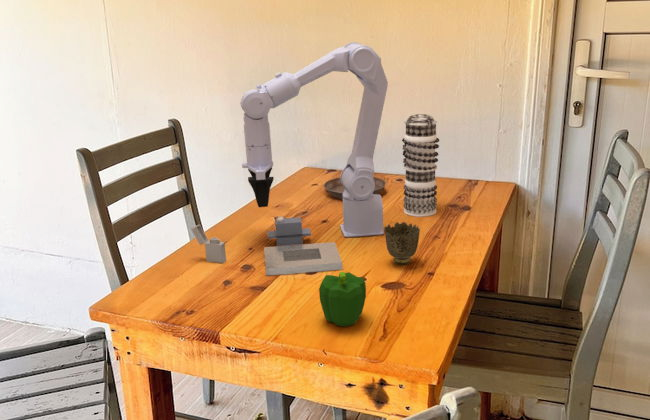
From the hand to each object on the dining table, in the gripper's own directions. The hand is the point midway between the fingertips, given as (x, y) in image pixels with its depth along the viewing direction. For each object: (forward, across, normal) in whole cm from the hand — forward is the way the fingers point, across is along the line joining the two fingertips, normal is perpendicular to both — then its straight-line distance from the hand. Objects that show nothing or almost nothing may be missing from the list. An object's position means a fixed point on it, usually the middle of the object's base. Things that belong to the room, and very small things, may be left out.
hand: (262, 201), depth 157 cm
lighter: (+10, +9, -12) cm, 18 cm away
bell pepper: (+10, +42, +13) cm, 45 cm away
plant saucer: (+11, -33, +26) cm, 44 cm away
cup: (+10, +19, +29) cm, 36 cm away
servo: (+10, +2, +5) cm, 11 cm away
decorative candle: (+10, -13, +40) cm, 44 cm away
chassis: (+10, +14, +8) cm, 19 cm away
